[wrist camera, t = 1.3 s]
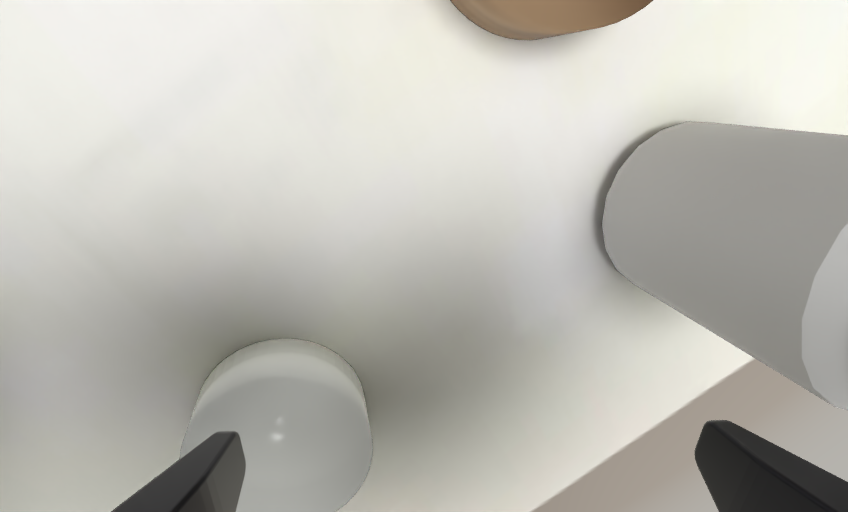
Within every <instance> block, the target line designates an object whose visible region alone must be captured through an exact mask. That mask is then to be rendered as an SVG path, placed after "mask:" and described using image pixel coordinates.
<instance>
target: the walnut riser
mask: <svg viewBox="0 0 848 512" xmlns="http://www.w3.org/2000/svg"><path fill="white" fill-rule="evenodd" d="M451 1H452V3H453V4H454V5H455V6H456V7H457V9H458V10H459V11H460V12H462V13H463V14H464V15H465V16H466V17H467V18H468V19H469V20H471V21H472V22H474V23H475V24H477V25H478V26H479V27H481V28H483V29H485V30H487V31H489V32H491V33H493V34H496V35H499V36H502V37H505V38H511V39H517V40H535V39H542V38H548V37H553V36H559V35H564V34H569V33H574V32H579V31H585V30H590V29H595V28H600V27H604V26H607V25H611V24H614V23H617V22H619V21H621V20H623V19H626V18H628V17H630V16H632V15H633V14H635V13H636V12H638V11H640V10H641V9H643V8H644V7H646V6H647V5H648V4H649V3H650V2H652V1H653V0H451Z"/></svg>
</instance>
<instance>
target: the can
mask: <svg viewBox="0 0 848 512" xmlns="http://www.w3.org/2000/svg"><path fill="white" fill-rule="evenodd" d="M602 228H603V235H604V242H605V248H606V251H607V253H608V255H609V257H610V258H611V260H612V262H613V264H614V266H615V268H616V270H617V271H619V272H620V273H621V274H622V275H623V276H625V277H626V278H627V279H628V280H629V281H630V282H632V283H633V284H634V285H636V286H638V287H639V288H641V289H643V290H644V291H646V292H648V293H649V294H651V295H652V296H654V297H656V298H657V299H659V300H661V301H662V302H664V303H666V304H667V305H669V306H670V307H672V308H674V309H675V310H677V311H679V312H680V313H682V314H684V315H685V316H687V317H688V318H690V319H692V320H693V321H695V322H697V323H698V324H700V325H702V326H703V327H705V328H706V329H708V330H710V331H711V332H713V333H715V334H716V335H718V336H719V337H721V338H723V339H724V340H726V341H728V342H729V343H731V344H733V345H734V346H736V347H737V348H739V349H741V350H742V351H744V352H746V353H747V354H749V355H751V356H752V357H754V358H755V359H757V360H759V361H760V362H762V363H764V364H765V365H767V366H769V367H770V368H772V369H773V370H775V371H777V372H779V373H780V374H782V375H783V376H785V377H787V378H788V379H790V380H792V381H793V382H795V383H796V384H798V385H800V386H801V387H803V388H805V389H806V390H808V391H809V392H811V393H813V394H814V395H816V396H818V397H819V398H821V399H823V400H824V401H826V402H827V403H829V404H831V405H832V406H834V407H838V408H841V409H845V410H848V136H847V135H837V134H826V133H816V132H806V131H795V130H785V129H774V128H764V127H753V126H743V125H732V124H722V123H711V122H684V123H681V124H678V125H675V126H672V127H669V128H665V129H662V130H660V131H659V132H657V133H656V134H655V135H653V136H652V137H650V138H649V139H648V140H646V141H645V142H643V143H642V144H640V145H639V146H638V147H637V148H636V149H635V150H634V152H633V153H632V154H631V155H630V156H629V158H628V159H627V160H626V161H625V163H624V164H623V165H622V166H621V167H620V169H619V170H618V172H617V174H616V176H615V179H614V181H613V183H612V185H611V187H610V190H609V192H608V194H607V196H606V202H605V208H604V215H603V221H602Z"/></svg>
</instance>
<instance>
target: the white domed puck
mask: <svg viewBox="0 0 848 512" xmlns="http://www.w3.org/2000/svg"><path fill="white" fill-rule="evenodd" d="M218 431H236V432H238V434H239V436H240V439H241V443H242V448H243V452H244V456H245V461H246V470H245V476H244V481H243V484H242V488H241V492H240V496H239V500H238V504H237V508H236V512H336V511H338V510H339V509H340V508H341V507H343V506H344V505H345V504H346V503H347V502H348V501H349V500H350V499H351V498H352V497H353V496H354V495H355V494H356V492H357V491H358V490H359V488H360V487H361V485H362V484H363V482H364V480H365V478H366V476H367V474H368V471H369V469H370V465H371V461H372V454H373V441H372V435H371V430H370V424H369V419H368V414H367V408H366V403H365V397H364V393H363V388H362V385H361V383H360V380H359V378H358V376H357V374H356V373H355V371H354V370H353V369H352V367H351V366H350V365H349V364H348V363H347V362H346V361H345V360H344V359H343V358H342V357H341V356H339V355H338V354H337V353H335V352H334V351H332V350H330V349H328V348H326V347H324V346H322V345H319V344H317V343H314V342H310V341H306V340H299V339H272V340H266V341H262V342H257V343H254V344H252V345H249V346H246V347H244V348H242V349H240V350H238V351H236V352H234V353H233V354H231V355H230V356H228V357H227V358H226V359H224V360H223V361H222V362H221V363H220V364H218V365H217V367H216V368H215V369H214V370H213V371H212V372H211V373H210V375H209V376H208V378H207V379H206V380H205V382H204V384H203V386H202V388H201V391H200V393H199V396H198V399H197V402H196V405H195V408H194V411H193V414H192V417H191V420H190V422H189V425H188V428H187V431H186V434H185V437H184V440H183V443H182V446H181V452H180V459H181V458H182V457H183V456H185V455H186V454H187V453H189V452H190V451H191V450H193V449H194V448H195V447H197V446H198V445H199V444H200V443H202V442H203V441H204V440H206V439H207V438H208V437H210V436H211V435H212V434H214V433H216V432H218Z"/></svg>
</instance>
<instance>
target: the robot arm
mask: <svg viewBox="0 0 848 512" xmlns="http://www.w3.org/2000/svg"><path fill="white" fill-rule="evenodd" d="M695 460H696V463H697V466H698V468H699V470H700V472H701V474H702V476H703V479H704V481H705V483H706V485H707V487H708V489H709V491H710V493H711V496H712V498H713V500H714V502H715V504H716V506H717V509H718V510H719V512H848V482H846V481H845V480H843V479H841V478H839V477H837V476H835V475H833V474H831V473H829V472H827V471H825V470H823V469H821V468H819V467H817V466H815V465H814V464H812V463H810V462H808V461H806V460H804V459H802V458H800V457H798V456H796V455H794V454H792V453H790V452H788V451H786V450H785V449H783V448H781V447H779V446H777V445H775V444H773V443H771V442H769V441H767V440H765V439H763V438H761V437H759V436H758V435H756V434H754V433H752V432H750V431H748V430H746V429H744V428H742V427H740V426H738V425H736V424H734V423H732V422H730V421H727V420H713V421H712V420H711V421H707V422H706V423H705V424H704V426H703V429H702V432H701V434H700V437H699V440H698V443H697V445H696V448H695ZM245 470H246V461H245V456H244V452H243V448H242V443H241V439H240V436H239V434H238V432H236V431H218V432H216V433H214V434H212V435H211V436H210V437H208V438H207V439H206V440H204V441H203V442H202V443H200V444H199V445H198V446H197V447H195V448H194V449H193V450H191V451H190V452H189V453H187V454H186V455H185V456H183V457H182V458H181V459H179V460H178V461H177V462H176V463H174V464H173V465H172V466H170V467H169V468H168V469H166V470H165V471H164V472H162V473H161V474H160V475H158V476H157V477H156V478H154V479H153V480H152V481H151V482H149V483H148V484H147V485H145V486H144V487H143V488H141V489H140V490H139V491H137V492H136V493H135V494H133V495H132V496H131V497H130V498H128V499H127V500H126V501H124V502H123V503H122V504H120V505H119V506H118V507H116V508H115V509H114V510H112V511H111V512H236V508H237V504H238V500H239V496H240V492H241V488H242V484H243V481H244V476H245Z"/></svg>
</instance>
